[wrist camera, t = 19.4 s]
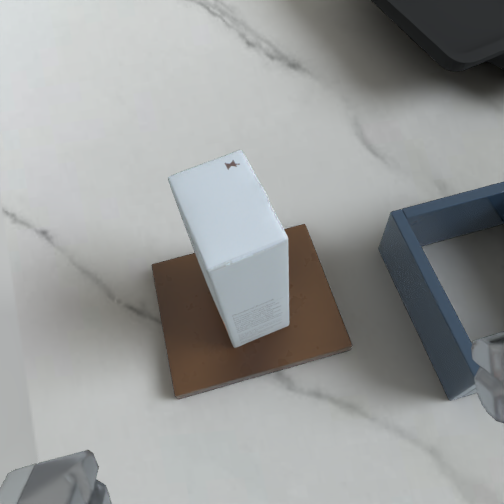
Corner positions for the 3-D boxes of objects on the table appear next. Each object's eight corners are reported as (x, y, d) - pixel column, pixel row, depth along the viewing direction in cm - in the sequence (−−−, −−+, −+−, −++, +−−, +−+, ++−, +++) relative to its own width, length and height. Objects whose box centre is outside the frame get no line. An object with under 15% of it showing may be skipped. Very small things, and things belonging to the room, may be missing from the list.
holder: (449, 401, 29) (477, 382, 25) (377, 248, 35) (390, 211, 30) (602, 355, 30) (655, 329, 26) (508, 213, 36) (538, 171, 31)
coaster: (177, 399, 30) (174, 396, 30) (154, 270, 35) (151, 264, 34) (350, 350, 31) (352, 345, 30) (304, 230, 36) (305, 223, 35)
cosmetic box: (203, 277, 34) (164, 173, 23) (257, 256, 34) (243, 144, 24) (233, 352, 31) (204, 272, 20) (292, 328, 31) (293, 237, 21)
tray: (639, -18, 48) (676, -73, 43) (649, 149, 37) (698, 100, 33) (351, -51, 54) (356, -102, 50) (293, 84, 44) (293, 35, 40)
